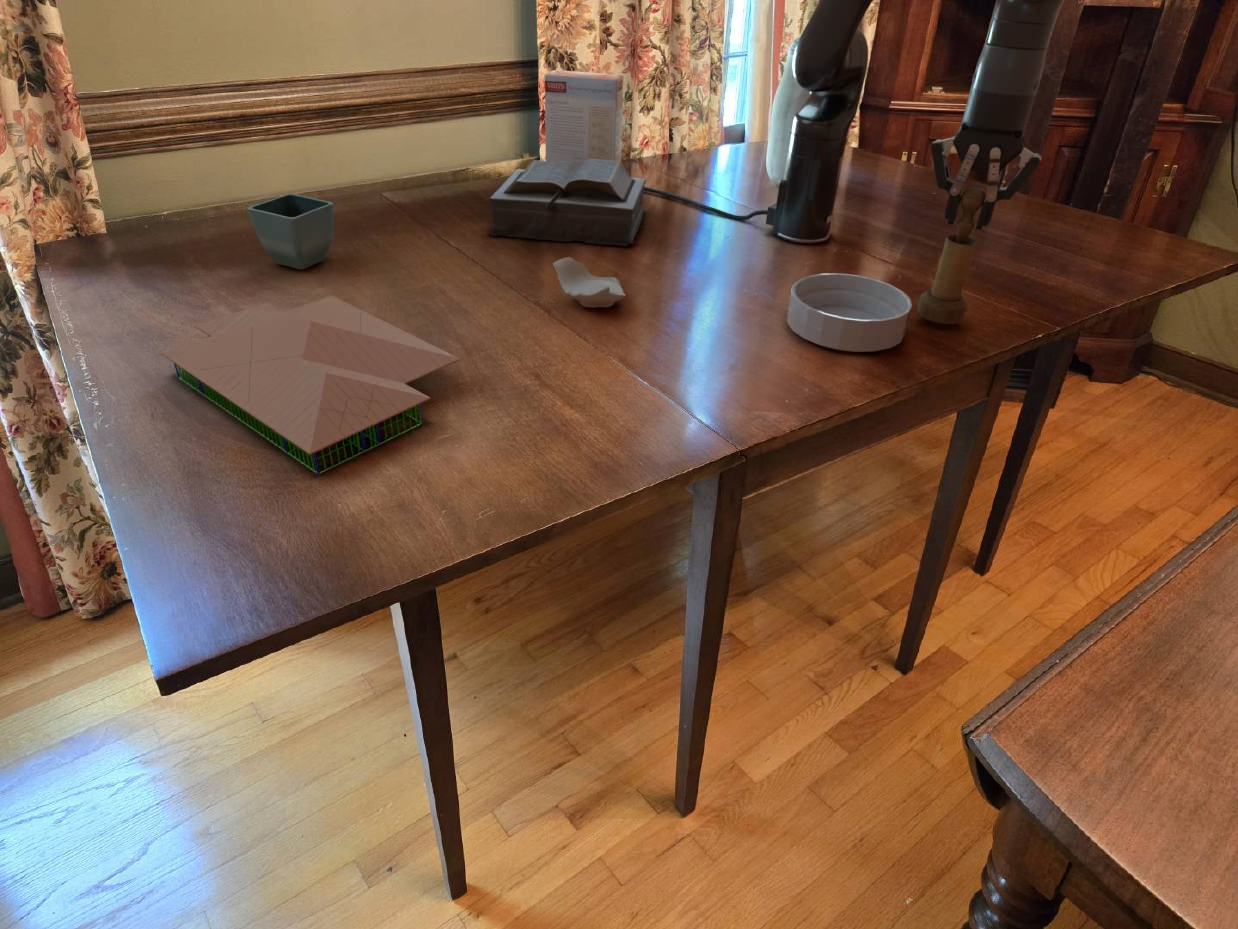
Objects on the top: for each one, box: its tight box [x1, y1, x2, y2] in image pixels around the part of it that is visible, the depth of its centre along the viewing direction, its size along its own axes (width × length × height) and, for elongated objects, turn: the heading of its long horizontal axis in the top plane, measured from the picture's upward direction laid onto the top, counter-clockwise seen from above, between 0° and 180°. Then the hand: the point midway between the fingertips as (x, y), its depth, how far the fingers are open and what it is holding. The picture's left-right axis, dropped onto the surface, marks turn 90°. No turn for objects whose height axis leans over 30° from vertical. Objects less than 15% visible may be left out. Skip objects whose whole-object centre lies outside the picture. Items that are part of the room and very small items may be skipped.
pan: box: [786, 272, 913, 353], centre depth 114 cm, size 16×16×5 cm
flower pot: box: [247, 193, 334, 271], centre depth 125 cm, size 9×9×9 cm
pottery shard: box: [552, 256, 627, 309], centre depth 118 cm, size 10×11×5 cm
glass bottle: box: [765, 35, 810, 186], centre depth 163 cm, size 10×10×28 cm
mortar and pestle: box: [916, 186, 986, 325], centre depth 113 cm, size 7×6×18 cm
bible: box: [489, 159, 647, 247], centre depth 144 cm, size 23×27×10 cm
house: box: [160, 295, 461, 475], centre depth 95 cm, size 23×33×8 cm
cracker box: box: [544, 69, 624, 166], centre depth 159 cm, size 14×6×21 cm, turn 77°
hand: (965, 224), depth 110 cm, fingers closed on mortar and pestle, 3 cm apart
